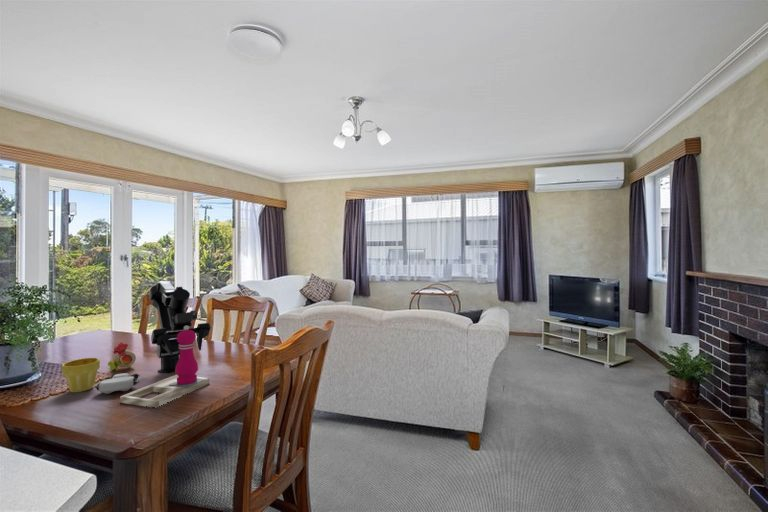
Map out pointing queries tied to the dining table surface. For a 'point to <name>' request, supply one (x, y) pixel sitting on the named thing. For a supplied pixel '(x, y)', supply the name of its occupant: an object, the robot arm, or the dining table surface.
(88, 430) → the dining table surface
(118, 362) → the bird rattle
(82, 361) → the plant pot
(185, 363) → the pepper mill
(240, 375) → the dining table surface
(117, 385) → the robot toy
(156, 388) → the puzzle board
